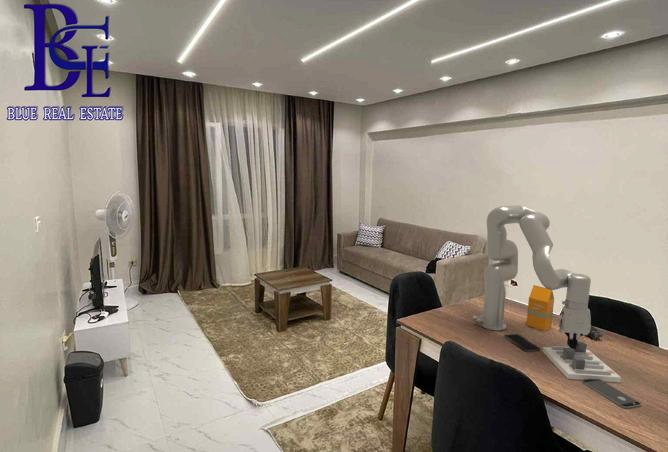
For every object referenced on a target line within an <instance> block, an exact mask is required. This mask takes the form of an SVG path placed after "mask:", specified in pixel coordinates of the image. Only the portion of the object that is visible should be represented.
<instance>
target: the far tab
mask: <svg viewBox="0 0 668 452" xmlns="http://www.w3.org/2000/svg"><path fill="white" fill-rule="evenodd" d="M587 346H588V345H587V343H586V342H585V341H578V340H577V346H576V349H574V351H575V352H586V350H587Z"/></svg>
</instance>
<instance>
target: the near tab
mask: <svg viewBox="0 0 668 452" xmlns="http://www.w3.org/2000/svg"><path fill="white" fill-rule="evenodd" d="M584 367H585V360H584V359H583V358H582V357H573V360H572V368H573V369H574V370H575V369H584Z"/></svg>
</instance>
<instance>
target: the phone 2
mask: <svg viewBox="0 0 668 452" xmlns="http://www.w3.org/2000/svg"><path fill="white" fill-rule="evenodd" d="M581 383H583V385H585V386H587V387H589V388H590V389H591V390H593V391H595V392H596V393H598V394H600V396H603V397H604V398H606V399H607V400H609V401H611V402H612V403H614V404H615V405H616V406H619V408H622V409H625V410H627V409H628V410H630V409H633V408H640V407H641V406H642V404H641V403H640V402H639V401H637V400H636V399H634V398H633V397H631V396H629V395H627V394H626V393H624V392H622V391H620V390H619V389H617V388H616V387H614V386H612V385H610V384H608V383H607V382H605V381H602V380H598V379H587V380H581Z"/></svg>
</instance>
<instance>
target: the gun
mask: <svg viewBox="0 0 668 452" xmlns="http://www.w3.org/2000/svg"><path fill="white" fill-rule="evenodd" d="M586 336H587V337H590V338H591V339H593V341H594V340H600V338H602V337H603V336H604V334H603V333H602V332H601V331H600V330H599V329H598V328H596V327H594V326H593V325H592V324H591V328H590V333H588V335H586Z"/></svg>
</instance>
